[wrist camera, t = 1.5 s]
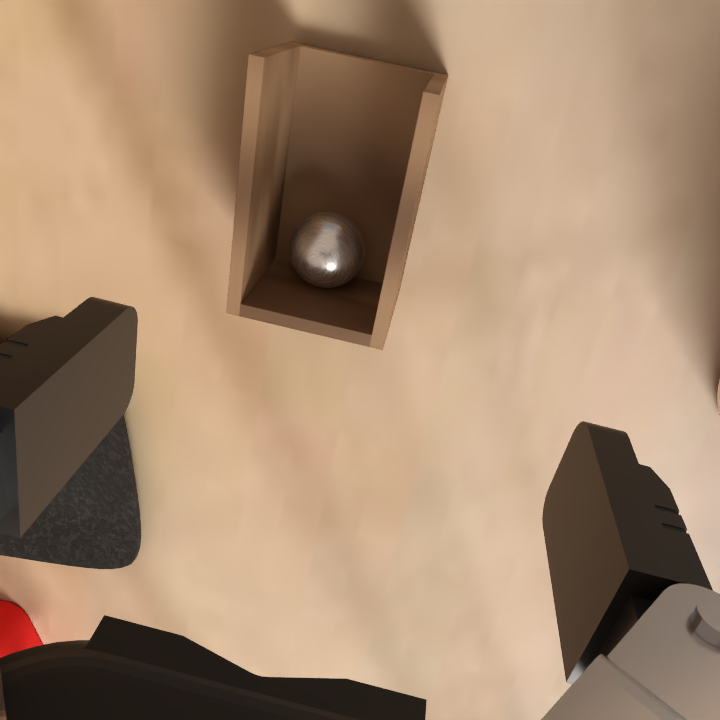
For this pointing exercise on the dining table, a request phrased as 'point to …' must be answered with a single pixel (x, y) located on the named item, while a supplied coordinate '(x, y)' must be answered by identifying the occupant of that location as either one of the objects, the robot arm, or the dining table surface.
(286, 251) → the channel
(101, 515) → the sushi plate
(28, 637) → the mug
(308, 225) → the ball
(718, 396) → the pill bottle
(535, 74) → the dining table surface
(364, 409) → the dining table surface
